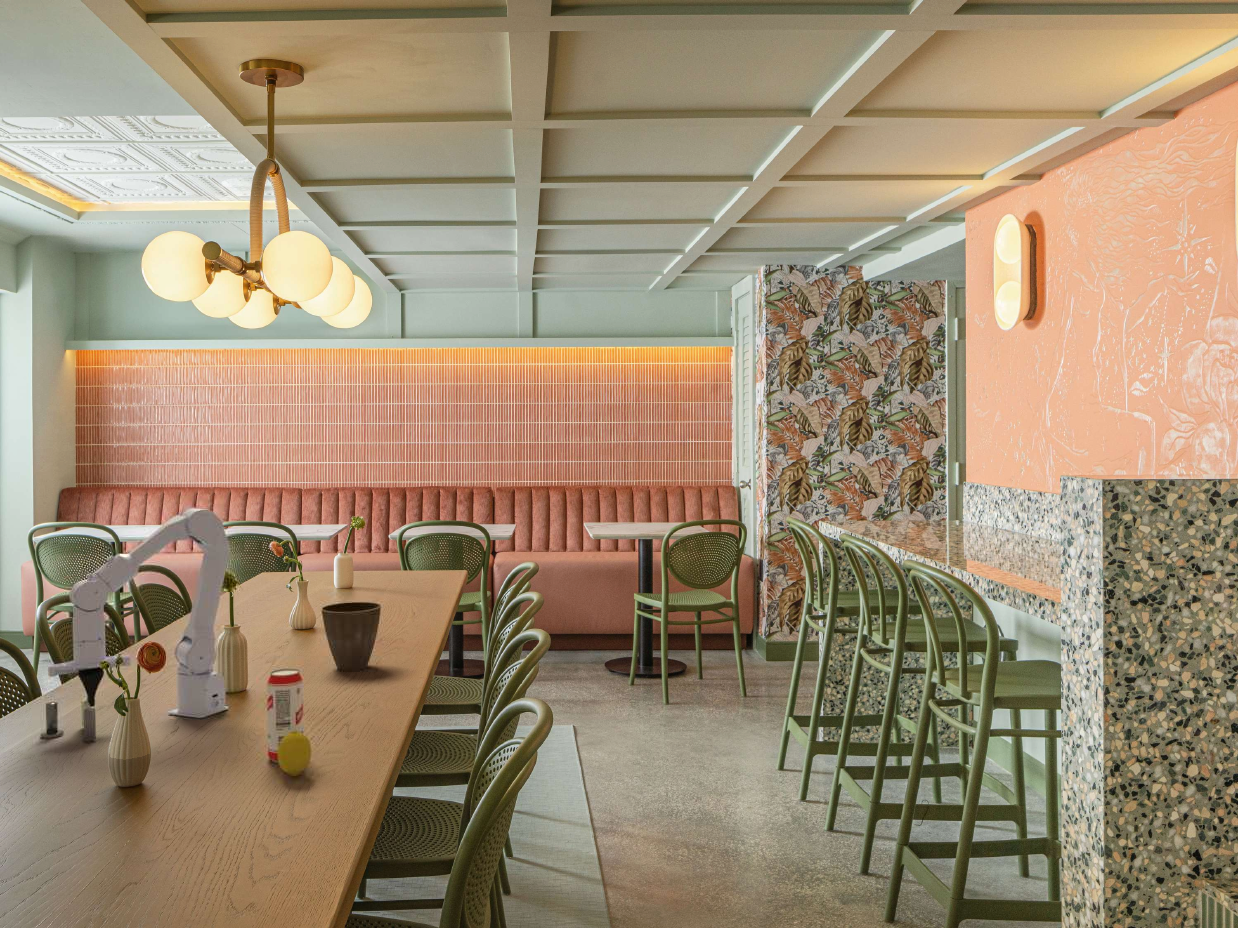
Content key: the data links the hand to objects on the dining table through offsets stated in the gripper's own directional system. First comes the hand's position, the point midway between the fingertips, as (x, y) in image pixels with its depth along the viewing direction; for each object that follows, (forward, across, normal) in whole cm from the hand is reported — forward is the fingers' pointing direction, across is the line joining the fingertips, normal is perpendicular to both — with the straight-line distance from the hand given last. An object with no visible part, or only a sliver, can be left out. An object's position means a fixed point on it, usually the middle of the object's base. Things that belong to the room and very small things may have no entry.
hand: (90, 705), depth 193 cm
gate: (+5, -1, -4) cm, 6 cm away
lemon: (+5, +23, -54) cm, 59 cm away
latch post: (+5, -7, 0) cm, 8 cm away
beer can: (+5, +25, -44) cm, 50 cm away
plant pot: (+6, +63, +18) cm, 66 cm away
